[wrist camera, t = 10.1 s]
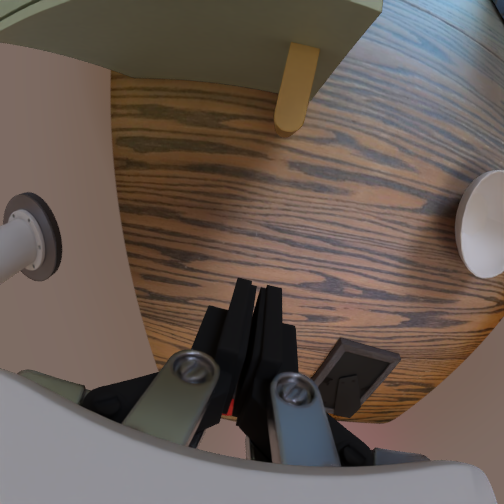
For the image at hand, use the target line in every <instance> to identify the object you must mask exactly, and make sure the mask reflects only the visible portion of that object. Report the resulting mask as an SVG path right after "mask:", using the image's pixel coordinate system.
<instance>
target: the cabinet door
mask: <svg viewBox="0 0 504 504" xmlns="http://www.w3.org/2000/svg"><path fill="white" fill-rule="evenodd" d="M382 6H383V0H41V1H39V2H37V3H35V4H33V5H30V6H28V7H26V8H24V9H22V10H20V11H18V12H17V13H15V14H13V15H11V16H9V17H7V18H6V19H4V20H2V21H0V43H7V44H13V45H20V46H24V47H29V48H34V49H39V50H43V51H48V52H52V53H56V54H60V55H64V56H68V57H72V58H75V59H78V60H82V61H85V62H88V63H92V64H95V65H98V66H101V67H104V68H107V69H110V70H113V71H116V72H119V73H122V74H124V75H127V76H130V77H133V78H156V79H177V80H191V81H202V82H211V83H219V84H227V85H234V86H240V87H247V88H252V89H258V90H263V91H268V92H273V93H278V94H279V95H278V99H277V103H276V108H275V112H274V125H275V131H276V133H277V134H278V135H279V136H280V137H289V136H291V135H292V134H294V133H295V132H296V131H297V130H299V129H300V128H301V127H302V125H303V123H304V120H305V116H306V111H307V107H308V102H309V101H311V100H312V98H313V97H314V96H315V94H316V93H317V92H318V90H319V89H320V88H321V87H322V85H323V84H324V83H325V81H326V80H327V79H328V78H329V76H330V75H331V74H332V72H333V71H334V70H335V69H336V67H337V66H338V65H339V64H340V62H341V61H342V60H343V59H344V57H345V56H346V55H347V54H348V52H349V51H350V50H351V49H352V47H353V46H354V45H355V44H356V42H357V41H358V40H359V39H360V38H361V36H362V35H363V34H364V33H365V31H366V30H367V29H368V28H369V27H370V25H371V24H372V23H373V22H374V21H375V20H376V18H377V17H378V16H379V15H380V14H381V13H382Z"/></svg>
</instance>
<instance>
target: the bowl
mask: <svg viewBox="0 0 504 504" xmlns="http://www.w3.org/2000/svg"><path fill="white" fill-rule="evenodd" d="M455 239H456V244H457V248H458V252H459V255H460V257H461V259H462V261H463V263H464V264H465V266H466V268H467V269H468V270H469V271H470V272H471V273H473V274H474V275H475V276H477V277H480V278H484V279H485V278H492V277H494V276H497V275H499V274H501V273H502V272H503V271H504V171H502V170H493V171H489V172H486V173H483V174H481V175H480V176H479V177H477V178H476V179H474V180H473V181H472V183H471V184H470V185H469V186H468V188H467V189H466V190H465V192H464V194H463V196H462V198H461V200H460V203H459V206H458V209H457V213H456V221H455Z"/></svg>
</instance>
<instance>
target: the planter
mask: <svg viewBox="0 0 504 504" xmlns="http://www.w3.org/2000/svg"><path fill="white" fill-rule="evenodd" d="M493 2H494V3H495V5H496V7H497V9H498V11H499V12H500V14H501V16H502V17H503V19H504V0H493Z"/></svg>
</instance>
